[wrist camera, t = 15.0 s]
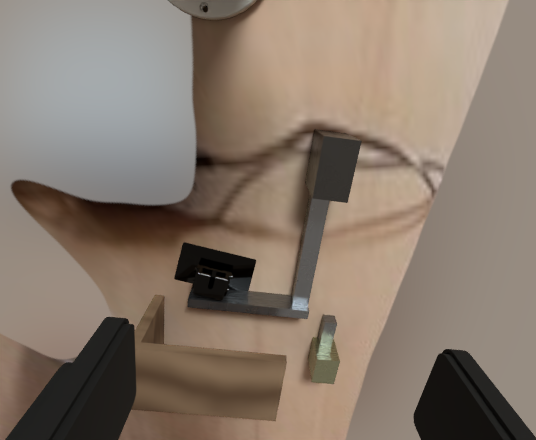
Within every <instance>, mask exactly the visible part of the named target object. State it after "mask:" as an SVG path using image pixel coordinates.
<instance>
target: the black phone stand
mask: <svg viewBox="0 0 536 440" xmlns="http://www.w3.org/2000/svg"><path fill="white" fill-rule="evenodd" d="M255 264H256V260H255V259H250V258H246V257H242V256H238V255H234V254H230V253H226V252H222V251H218V250H213V249H209V248H205V247H201V246H197V245H193V244H189V243H183V245H182V249H181V253H180V257H179V261H178V265H177V270H176V274H175V279H176V280H180V281H184V282H188V283H193V287H192V288H193V289H194V290H193V294H198V295H202V296H206V297H211V298H215V299H219V300H223V297H224V296H226V294H227V292H229V290H236V291H248V290H249V286H250V283H251V279H252V275H253V271H254V267H255Z"/></svg>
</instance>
